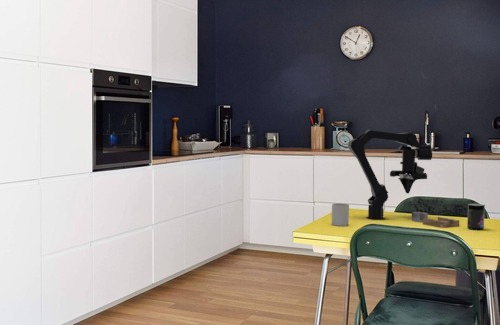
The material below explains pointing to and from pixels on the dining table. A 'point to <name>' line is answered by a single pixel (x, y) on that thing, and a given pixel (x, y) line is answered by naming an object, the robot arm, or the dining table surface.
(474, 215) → the supplement container
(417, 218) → the socket
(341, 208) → the cup
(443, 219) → the dock
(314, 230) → the dining table surface
